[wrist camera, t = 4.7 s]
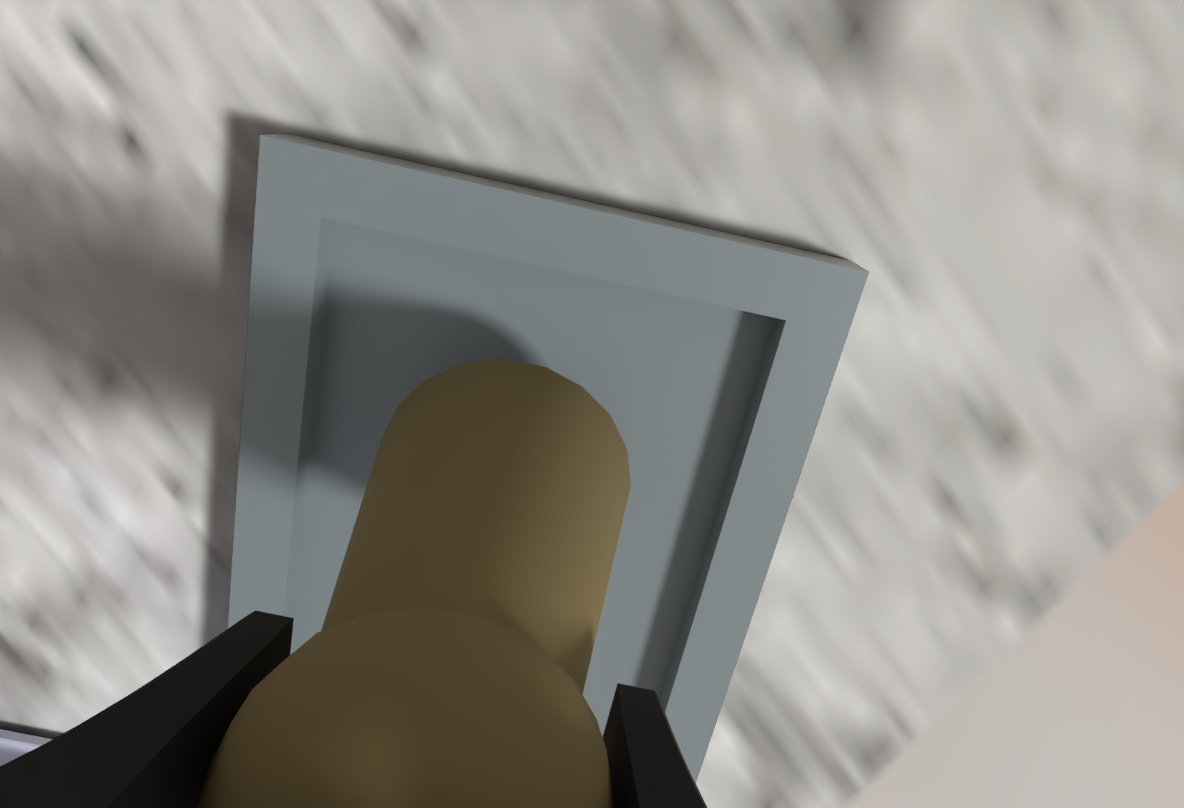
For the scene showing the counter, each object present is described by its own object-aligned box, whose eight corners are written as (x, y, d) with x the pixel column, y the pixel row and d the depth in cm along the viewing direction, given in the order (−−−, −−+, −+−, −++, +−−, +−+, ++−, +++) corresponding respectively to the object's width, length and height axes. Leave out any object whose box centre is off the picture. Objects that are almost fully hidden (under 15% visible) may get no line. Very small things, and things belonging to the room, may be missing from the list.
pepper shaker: (330, 494, 19) (11, 963, 9) (474, 305, 17) (276, 626, 7) (530, 624, 20) (449, 1162, 10) (683, 462, 19) (769, 922, 8)
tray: (656, 849, 26) (659, 890, 25) (238, 768, 26) (215, 806, 24) (851, 260, 19) (869, 271, 18) (286, 133, 19) (260, 135, 18)
